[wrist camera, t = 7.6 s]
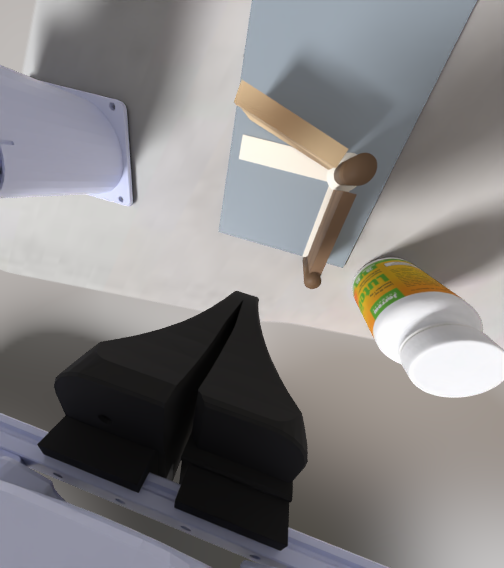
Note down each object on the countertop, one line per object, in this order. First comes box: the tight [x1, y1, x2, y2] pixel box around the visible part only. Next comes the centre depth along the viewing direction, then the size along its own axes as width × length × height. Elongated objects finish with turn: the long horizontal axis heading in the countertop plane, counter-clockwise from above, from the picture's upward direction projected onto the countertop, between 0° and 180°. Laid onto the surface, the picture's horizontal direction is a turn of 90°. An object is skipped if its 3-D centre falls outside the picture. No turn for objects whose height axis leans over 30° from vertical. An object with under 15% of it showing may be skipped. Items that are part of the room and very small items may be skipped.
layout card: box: [219, 0, 477, 268], centre depth 15 cm, size 12×16×1 cm
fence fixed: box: [303, 153, 377, 289], centre depth 15 cm, size 2×9×5 cm, turn 166°
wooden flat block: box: [234, 80, 348, 170], centre depth 13 cm, size 7×1×4 cm, turn 61°
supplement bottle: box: [352, 257, 504, 397], centre depth 14 cm, size 5×5×10 cm
